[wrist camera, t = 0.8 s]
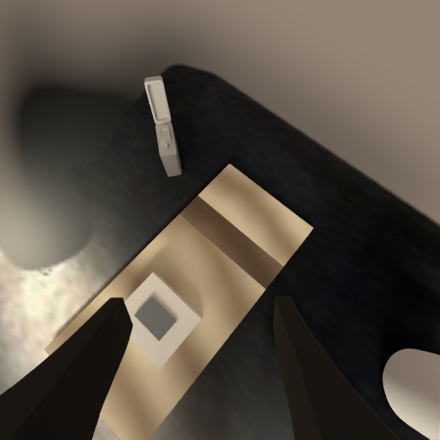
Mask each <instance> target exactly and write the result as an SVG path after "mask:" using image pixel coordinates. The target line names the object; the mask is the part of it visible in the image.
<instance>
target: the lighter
mask: <svg viewBox="0 0 440 440" xmlns="http://www.w3.org/2000/svg"><path fill="white" fill-rule="evenodd" d="M145 88H146V91H147V95H148V99H149V103H150V106H151V110H152V114H153V117H154V121H155V123H156V124H157V125H156V132H157V139H158V146H159V153H160V157H161V160H162V162H163V165H164V167H165V170H166V173H167V175H168V176H169V177H170V176H176V175H181V174H182V171H181V165H180V159H179V153H178V148H177V143H176V139H175V135H174V131H173V127H172V123H170V121H171V116H170V111H169V107H168V102H167V97H166V93H165V88H164V84H163V79H162V77H161V76H156V77H149V78H146V79H145Z"/></svg>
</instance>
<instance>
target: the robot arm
mask: <svg viewBox="0 0 440 440" xmlns="http://www.w3.org/2000/svg"><path fill="white" fill-rule="evenodd" d="M273 327H274V336H275V343H276V350H277V354H278V359H279V363H280V368H281V372H282V377H283V381H284V385H285V390H286V394H287V398H288V403H289V408H290V413H291V418H292V425H293V432H294V438H295V440H400V439H399V438H398V437H397V436H396V435H395V434H394V432H393V431H392V430H391V429H390V428H389V427H388V426H387V425H386V424H385V423H384V422H383V421H382V420H381V419H380V418H379V417H378V415H377V414H376V413H375V412H374V411H373V410H372V409H371V408H370V407H369V406H368V405H367V404H366V402H365V401H364V400H363V399H362V398H361V397H360V395H359V394H358V393H357V392H356V391H355V390H354V389H353V387H352V386H351V385H350V384H349V383H348V381H347V380H346V379H345V378H344V376H343V375H342V374H341V373H340V371H339V370H338V369H337V368H336V366H335V365H334V364H333V362H332V361H331V360H330V358H329V357H328V356H327V354H326V353H325V352H324V350H323V349H322V347H321V346H320V344H319V343H318V342H317V340H316V339H315V337H314V336H313V334H312V333H311V331H310V330H309V328H308V326H307V325H306V323H305V322H304V320H303V318H302V317H301V315H300V313H299V312H298V310H297V308H296V306H295V304H294V302H293V301H292V298H291V297H290V296H275V307H274V321H273ZM132 328H133V323H132V321H131V318H130V315H129V313H128V310H127V307H126V305H125V302H124V299H123V297H111V298H110V299H108V300H107V301H106V302H105V303H104V304H103V305H102V306H101V307H100V308H99V309H98V310H97V311H96V312H95V313H94V314H93V315H92V316H91V317H90V318H89V319H88V320H87V321H86V322H85V323H84V324H83V325H82V326H81V327H80V328H79V329H78V330H77V331H76V332H75V333H74V334H73V335H72V336H71V337H70V338H69V339H67V340H66V341H65V342H64V343H63V344H62V345H61V346H60V347H59V348H57V349H56V350H55V351H54V352H53V353H52V354H51V355H50V356H49V357H48V358H46V359H45V360H44V361H43V362H42V363H41V364H39V365H38V366H37V367H36V368H35V369H33V370H32V371H31V372H30V373H29V374H27V375H26V376H25V377H24V378H22V379H21V380H20V381H19V382H17V383H16V384H15V385H13V386H12V387H11V388H9V389H8V390H7V391H5V392H4V393H3V394H1V395H0V440H92V437H93V434H94V431H95V428H96V425H97V422H98V419H99V416H100V413H101V410H102V407H103V405H104V402H105V400H106V397H107V395H108V392H109V390H110V388H111V385H112V383H113V380H114V378H115V376H116V373H117V371H118V368H119V366H120V364H121V361H122V359H123V356H124V354H125V351H126V349H127V346H128V343H129V339H130V336H131V332H132Z"/></svg>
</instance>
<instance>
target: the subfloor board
mask: <svg viewBox="0 0 440 440" xmlns="http://www.w3.org/2000/svg"><path fill="white" fill-rule="evenodd" d="M312 229H313V227H311V226H310V225H309V224H307V223H306V222H305V221H303V220H302V219H301V218H300V217H298V216H297V215H296V214H294V213H293V212H292V211H290V210H289V209H288V208H287V207H285V206H284V205H283V204H281V203H280V202H279V201H277V200H276V199H275V198H274V197H272V196H271V195H270V194H268V193H267V192H266V191H265V190H263V189H262V188H261V187H259V186H258V185H257V184H255V183H254V182H253V181H252V180H250V179H249V178H248V177H246V176H245V175H244V174H242V173H241V172H240V171H239V170H237V169H236V168H235V167H233V166H232V165H231V164H229V165H228V166H227V167H226V168H225V169H224V170H223V171H222V172H221V173H220V174H219V175H218V176H217V177H216V178H215V179H214V180H213V181H212V182H211V183H210V184H209V185H208V186H207V187H206V188H205V189H204V190H203V191H202V192H201V193H200V194H199V195H198V196H197V197H196V198H195V199H194V200H193V201H192V202H191V203H190V204H189V205H188V206H187V207H186V208H185V209H184V210H183V211H182V212H181V213H180V214H179V215H178V216H177V217H176V218H175V219H174V220H173V221H172V222H171V223H170V224H169V225H168V226H167V227H166V228H165V229H164V230H163V231H162V232H161V233H160V234H159V235H158V236H157V237H156V238H155V239H154V240H153V241H152V242H151V243H150V244H149V245H148V246H147V247H146V248H145V249H144V250H143V251H142V252H141V253H140V254H139V255H138V256H137V257H136V258H135V259H134V260H133V261H132V262H131V263H130V264H129V265H128V266H127V267H126V268H125V269H124V270H123V271H122V272H121V273H120V274H119V275H118V276H117V277H116V278H115V279H114V280H113V281H112V282H111V283H110V284H109V285H108V286H107V287H106V288H105V289H104V290H103V291H102V292H101V293H100V294H99V295H98V296H97V297H96V298H95V299H94V300H93V301H92V302H91V303H90V304H89V305H88V306H87V307H86V308H85V309H84V310H83V311H82V312H81V313H80V314H79V315H78V316H77V317H76V318H75V319H74V320H73V321H72V322H71V323H70V324H69V325H68V326H67V327H66V328H65V329H64V330H63V331H62V332H61V333H60V334H59V335H58V336H57V337H56V338H55V339H54V340H53V341H52V342H51V343H50V344H49V345H48V346H47V347H46V348H45V349H44V350H45V351H46V352H47V353H48V354H49V356H50V355H51V354H52V353H53V352H54V351H55V350H56V349H57V348H59V347H60V346H61V345H62V344H63V343H64V342H65V341H66V340H67V339H69V338H70V337H71V336H72V335H73V334H74V333H75V332H76V331H77V330H78V329H79V328H80V327H81V326H82V325H83V324H84V323H85V322H86V321H87V320H88V319H89V318H90V317H91V316H92V315H93V314H94V313H95V312H96V311H97V310H98V309H99V308H100V307H101V306H102V305H103V304H104V303H105V302H106V301H107V300H108V299H110V298H111V297H123V299H124V302H125V301H126V300H127V299H128V298H129V297H130V296H131V295H132V293H133V292H134V291H135V290H136V289H137V288H138V287H139V286H140V285H141V284H142V283H143V282H144V281H145V280H146V279H147V278H148V277H149V276H150V275H151V274H152V273H153V272H154V273H156V274H158V275H160V276H161V277H162V278H163V279H164V280H165V281H166V282H167V283H168V284H169V285H170V286H171V287H172V288H173V289H174V290H175V291H176V292H177V293H178V294H180V295H181V296H182V297H183V298H184V299H185V300H186V301H187V302H188V303H189V304H190V305H191V306H192V307H193V308H194V309H195V310H196V311H197V312H198V313H199V314H200V315H201V316H202V317H203V318H202V319H201V321H200V322H199V323H198V324H197V325H196V327H195V328H194V329H193V330H192V331H191V333H190V334H189V335H188V336H187V337H186V339H185V340H184V341H183V342H182V343H181V345H180V346H179V347H178V348H177V349H176V351H175V352H174V353H173V354H172V355H171V357H170V358H169V359H168V360H167V361H166V363H165V364H164V365H163V366H162V367H161V369H160V370H159V369H158V368H157V366H156V365H155V364H154V363H153V362H152V361H151V360H150V359H149V358H148V357H147V356H146V355H145V354H144V353H143V352H142V350H141V349H140V348H139V347H138V346H137V345H136V344H135V343H134V342H133V341H132V340H131V339H129V343H128V346H127V349H126V351H125V354H124V356H123V359H122V361H121V364H120V366H119V368H118V371H117V373H116V376H115V378H114V380H113V383H112V385H111V388H110V390H109V392H108V395H107V397H106V400H105V402H104V405H103V407H102V410H101V413H100V417H101V418H102V419H103V420H104V422H105V423H106V424H107V425H108V426H109V428H110V429H111V430H112V431H113V432H114V434H115V435H116V436H117V437H118V438H119V440H149V439H150V437H151V436H152V435H153V433H154V432H155V431H156V430H157V428H158V427H159V426H160V425H161V423H162V422H163V421H164V419H165V418H166V417H167V416H168V414H169V413H170V412H171V410H172V409H173V408H174V407H175V405H176V404H177V403H178V401H179V400H180V399H181V398H182V396H183V395H184V394H185V392H186V391H187V390H188V389H189V387H190V386H191V385H192V383H193V382H194V381H195V380H196V378H197V377H198V376H199V374H200V373H201V372H202V371H203V369H204V368H205V367H206V365H207V364H208V363H209V362H210V360H211V359H212V358H213V356H214V355H215V354H216V353H217V351H218V350H219V349H220V348H221V346H222V345H223V344H224V342H225V341H226V340H227V339H228V337H229V336H230V335H231V333H232V332H233V331H234V330H235V328H236V327H237V326H238V324H239V323H240V322H241V321H242V319H243V318H244V317H245V315H246V314H247V313H248V312H249V310H250V309H251V308H252V306H253V305H254V304H255V303H256V301H257V300H258V299H259V297H260V296H261V295H262V294H263V292H264V291H265V290H266V288H267V287H268V286H269V285H270V283H271V282H272V281H273V279H274V278H275V277H276V276H277V274H278V273H279V272H280V271H281V269H282V268H283V267H284V265H285V264H286V263H287V262H288V260H289V259H290V258H291V256H292V255H293V254H294V253H295V251H296V250H297V249H298V247H299V246H300V245H301V244H302V242H303V241H304V240H305V238H306V237H307V236H308V235H309V233H310V232H311V231H312Z"/></svg>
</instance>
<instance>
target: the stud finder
mask: <svg viewBox="0 0 440 440" xmlns="http://www.w3.org/2000/svg"><path fill="white" fill-rule="evenodd" d="M125 305H126V307H127V310H128V313H129V315H130V318H131V321H132V323H133V328H132V332H131V336H130V339H131V340H132V341H133V342H134V343H135V344H136V345H137V346H138V347H139V348H140V349H141V350H142V352H143V353H144V354H145V355H146V356H147V357H148V358H149V359H150V360H151V361H152V362H153V363H154V364H155V365H156V366H157V368H158V369H159V370H160V369H161V367H162V366H163V365H164V364H165V363H166V361H167V360H168V359H169V358H170V357H171V355H172V354H173V353H174V352H175V351H176V349H177V348H178V347H179V346H180V345H181V343H182V342H183V341H184V340H185V339H186V337H187V336H188V335H189V334H190V333H191V331H192V330H193V329H194V328H195V327H196V325H197V324H198V323H199V322H200V321H201V319H202V318H203V317H202V316H201V315H200V314H199V313H198V312H197V311H196V310H195V309H194V308H193V307H192V306H191V305H190V304H189V303H188V302H187V301H186V300H185V299H184V298H183V297H182V296H181V295H180V294H178V293H177V292H176V291H175V290H174V289H173V288H172V287H171V286H170V285H169V284H168V283H167V282H166V281H165V280H164V279H163V278H162V277H161V276H160V275H158V274H156V273H154V272H153V273H152V274H151V275H150V276H149V277H148V278H147V279H146V280H145V281H144V282H143V283H142V284H141V285H140V286H139V287H138V288H137V289H136V290H135V291H134V292H133V293H132V295H131V296H130V297H129V298H128V299H127V300H126V301H125Z"/></svg>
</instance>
